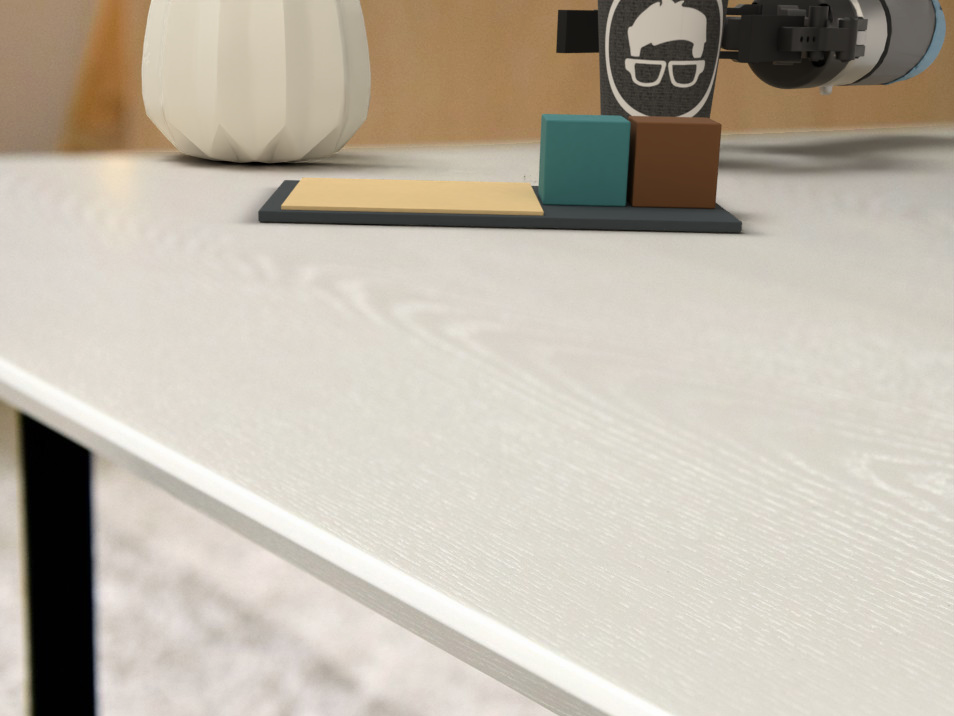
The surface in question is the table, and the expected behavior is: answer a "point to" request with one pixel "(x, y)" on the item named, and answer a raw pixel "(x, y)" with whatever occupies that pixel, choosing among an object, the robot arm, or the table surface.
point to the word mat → (547, 184)
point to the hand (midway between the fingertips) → (649, 34)
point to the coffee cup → (659, 56)
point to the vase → (256, 77)
